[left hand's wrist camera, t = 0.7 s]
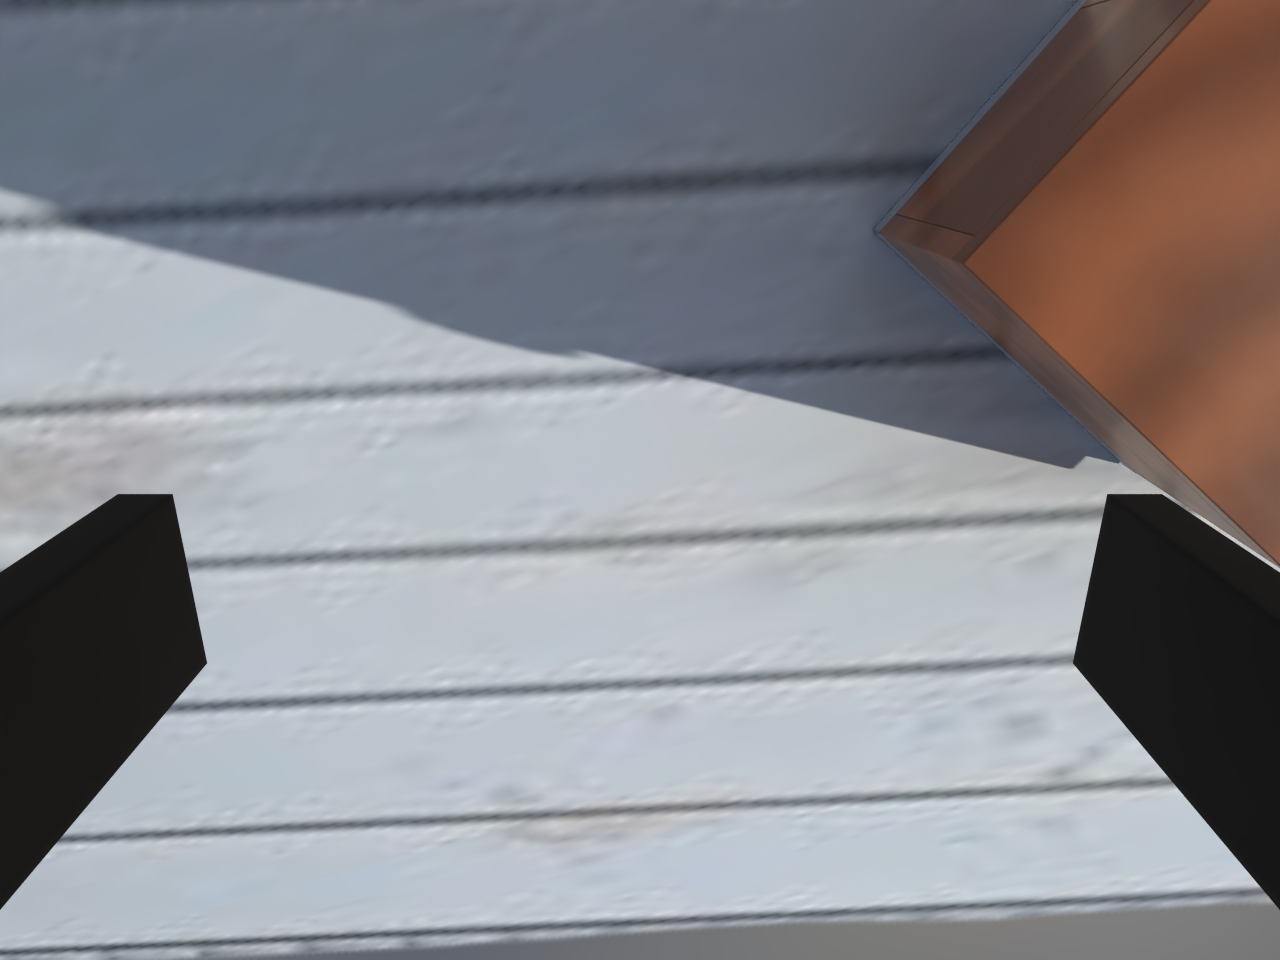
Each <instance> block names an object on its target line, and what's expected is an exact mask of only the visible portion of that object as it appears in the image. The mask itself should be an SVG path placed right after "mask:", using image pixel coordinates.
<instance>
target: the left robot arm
mask: <svg viewBox="0 0 1280 960" xmlns="http://www.w3.org/2000/svg"><path fill="white" fill-rule="evenodd" d="M206 664H207V660H206V656H205V651H204V646H203V641H202V636H201V631H200V626H199V621H198V616H197V611H196V607H195V602H194V597H193V592H192V587H191V582H190V577H189V572H188V567H187V562H186V557H185V553H184V548H183V543H182V538H181V533H180V528H179V523H178V518H177V513H176V508H175V504H174V499H173V494H118V495H116V496H115V497H113V498H112V499H110V500H109V501H107V502H106V503H104V504H103V505H101V506H100V507H98V508H97V509H95V510H94V511H92V512H91V513H89V514H88V515H86V516H85V517H83V518H82V519H80V520H79V521H77V522H76V523H74V524H73V525H71V526H70V527H68V528H67V529H65V530H63V531H62V532H60V533H59V534H57V535H56V536H54V537H53V538H51V539H50V540H48V541H47V542H45V543H44V544H42V545H41V546H39V547H38V548H36V549H35V550H33V551H32V552H30V553H29V554H27V555H26V556H24V557H23V558H21V559H20V560H18V561H17V562H15V563H14V564H12V565H11V566H9V567H8V568H6V569H5V570H3V571H2V572H0V909H1V908H2V907H3V906H4V905H5V903H6V902H7V901H8V900H9V899H10V897H11V896H12V895H13V894H14V893H15V892H16V890H17V889H18V888H19V887H20V886H21V884H22V883H23V882H24V881H25V880H26V878H27V877H28V876H29V875H30V874H31V872H32V871H33V870H34V869H35V868H36V866H37V865H38V864H39V863H40V862H41V861H42V859H43V858H44V857H45V856H46V855H47V853H48V852H49V851H50V850H51V849H52V847H53V846H54V845H55V844H56V843H57V841H58V840H59V839H60V838H61V837H62V836H63V834H64V833H65V832H66V831H67V830H68V828H69V827H70V826H71V825H72V824H73V822H74V821H75V820H76V819H77V818H78V816H79V815H80V814H81V813H82V812H83V810H84V809H85V808H86V807H87V806H88V805H89V803H90V802H91V801H92V800H93V799H94V797H95V796H96V795H97V794H98V793H99V791H100V790H101V789H102V788H103V787H104V785H105V784H106V783H107V782H108V781H109V779H110V778H111V777H112V776H113V775H114V774H115V772H116V771H117V770H118V769H119V768H120V766H121V765H122V764H123V763H124V762H125V760H126V759H127V758H128V757H129V756H130V754H131V753H132V752H133V751H134V750H135V749H136V747H137V746H138V745H139V744H140V743H141V741H142V740H143V739H144V738H145V737H146V735H147V734H148V733H149V732H150V731H151V729H152V728H153V727H154V726H155V725H156V723H157V722H158V721H159V720H160V719H161V718H162V716H163V715H164V714H165V713H166V712H167V710H168V709H169V708H170V707H171V706H172V704H173V703H174V702H175V701H176V700H177V698H178V697H179V696H180V695H181V694H182V692H183V691H184V690H185V689H186V688H187V687H188V685H189V684H190V683H191V682H192V681H193V679H194V678H195V677H196V676H197V675H198V673H199V672H200V671H201V670H202V669H203V667H204V666H205V665H206ZM1073 664H1074V665H1075V666H1076V667H1077V669H1078V670H1079V671H1080V672H1081V673H1082V675H1083V676H1084V677H1085V678H1086V679H1087V681H1088V682H1089V683H1090V684H1091V685H1092V687H1093V688H1094V689H1095V690H1096V691H1097V692H1098V694H1099V695H1100V696H1101V697H1102V698H1103V700H1104V701H1105V702H1106V703H1107V704H1108V706H1109V707H1110V708H1111V709H1112V710H1113V712H1114V713H1115V714H1116V715H1117V716H1118V718H1119V719H1120V720H1121V721H1122V722H1123V723H1124V725H1125V726H1126V727H1127V728H1128V729H1129V731H1130V732H1131V733H1132V734H1133V735H1134V737H1135V738H1136V739H1137V740H1138V741H1139V743H1140V744H1141V745H1142V746H1143V747H1144V749H1145V750H1146V751H1147V752H1148V753H1149V754H1150V756H1151V757H1152V758H1153V759H1154V760H1155V762H1156V763H1157V764H1158V765H1159V766H1160V768H1161V769H1162V770H1163V771H1164V772H1165V774H1166V775H1167V776H1168V777H1169V778H1170V779H1171V781H1172V782H1173V783H1174V784H1175V785H1176V787H1177V788H1178V789H1179V790H1180V791H1181V793H1182V794H1183V795H1184V796H1185V797H1186V799H1187V800H1188V801H1189V802H1190V803H1191V805H1192V806H1193V807H1194V808H1195V809H1196V810H1197V812H1198V813H1199V814H1200V815H1201V816H1202V818H1203V819H1204V820H1205V821H1206V822H1207V824H1208V825H1209V826H1210V827H1211V828H1212V830H1213V831H1214V832H1215V833H1216V834H1217V836H1218V837H1219V838H1220V839H1221V840H1222V841H1223V843H1224V844H1225V845H1226V846H1227V847H1228V849H1229V850H1230V851H1231V852H1232V853H1233V855H1234V856H1235V857H1236V858H1237V859H1238V861H1239V862H1240V863H1241V864H1242V865H1243V866H1244V868H1245V869H1246V870H1247V871H1248V872H1249V874H1250V875H1251V876H1252V877H1253V878H1254V880H1255V881H1256V882H1257V883H1258V884H1259V886H1260V887H1261V888H1262V889H1263V890H1264V892H1265V893H1266V894H1267V895H1268V896H1269V897H1270V899H1271V900H1272V901H1273V902H1274V903H1275V905H1276V906H1277V907H1278V908H1279V909H1280V572H1278V571H1277V570H1275V569H1274V568H1272V567H1271V566H1269V565H1268V564H1266V563H1265V562H1263V561H1262V560H1260V559H1259V558H1257V557H1256V556H1254V555H1253V554H1251V553H1250V552H1248V551H1247V550H1245V549H1244V548H1242V547H1241V546H1239V545H1238V544H1236V543H1235V542H1233V541H1232V540H1230V539H1229V538H1227V537H1226V536H1224V535H1223V534H1221V533H1220V532H1218V531H1217V530H1215V529H1213V528H1212V527H1210V526H1209V525H1207V524H1206V523H1204V522H1203V521H1201V520H1200V519H1198V518H1197V517H1195V516H1194V515H1192V514H1191V513H1189V512H1188V511H1186V510H1185V509H1183V508H1182V507H1180V506H1179V505H1177V504H1176V503H1174V502H1173V501H1171V500H1170V499H1168V498H1167V497H1165V496H1164V495H1162V494H1107V499H1106V504H1105V508H1104V513H1103V518H1102V523H1101V528H1100V533H1099V538H1098V543H1097V548H1096V553H1095V557H1094V562H1093V567H1092V572H1091V577H1090V582H1089V587H1088V592H1087V597H1086V602H1085V606H1084V611H1083V616H1082V621H1081V626H1080V631H1079V636H1078V641H1077V646H1076V651H1075V655H1074V660H1073Z"/></svg>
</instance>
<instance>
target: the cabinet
mask: <svg viewBox="0 0 1280 960" xmlns="http://www.w3.org/2000/svg"><path fill="white" fill-rule="evenodd" d="M872 231H873V232H874V233H875V234H876V235H878V236H879V237H880V238H881V239H882V240H883V241H884V242H885V243H886V244H887V245H888V246H889V247H890V248H891V249H893V250H894V251H895V252H896V253H897V254H898V255H899V256H900V257H901V258H902V259H903V260H904V261H905V262H906V263H908V264H909V265H910V266H911V267H912V268H913V269H914V270H915V271H916V272H917V273H918V274H919V275H920V276H921V277H923V278H924V279H925V280H926V281H927V282H928V283H929V284H930V285H931V286H932V287H933V288H934V289H935V290H936V291H938V292H939V293H940V294H941V295H942V296H943V297H944V298H945V299H946V300H947V301H948V302H949V303H950V304H952V305H953V306H954V307H955V308H956V309H957V310H958V311H959V312H960V313H961V314H962V315H963V316H964V317H965V318H967V319H968V320H969V321H970V322H971V323H972V324H973V325H974V326H975V327H976V328H977V329H978V330H979V331H980V332H982V333H983V334H984V335H985V336H986V337H987V338H988V339H989V340H990V341H991V342H992V343H993V344H994V345H995V346H997V347H998V348H999V349H1000V350H1001V351H1002V352H1003V353H1004V354H1005V355H1006V356H1007V357H1008V358H1009V359H1010V360H1012V361H1013V362H1014V363H1015V364H1016V365H1017V366H1018V367H1019V368H1020V369H1021V370H1022V371H1023V372H1024V373H1025V374H1027V375H1028V376H1029V377H1030V378H1031V379H1032V380H1033V381H1034V382H1035V383H1036V384H1037V385H1038V386H1039V387H1040V388H1042V389H1043V390H1044V391H1045V392H1046V393H1047V394H1048V395H1049V396H1050V397H1051V398H1052V399H1053V400H1054V401H1055V402H1057V403H1058V404H1059V405H1060V406H1061V407H1062V408H1063V409H1064V410H1065V411H1066V412H1067V413H1068V414H1069V415H1071V416H1072V417H1073V418H1074V419H1075V420H1076V421H1077V422H1078V423H1079V424H1080V425H1081V426H1082V427H1083V428H1084V429H1086V430H1087V431H1088V432H1089V433H1090V434H1091V435H1092V436H1093V437H1094V438H1095V439H1096V440H1097V441H1098V442H1099V443H1101V444H1102V445H1103V446H1104V447H1105V448H1106V449H1107V450H1108V451H1109V452H1110V453H1111V454H1112V455H1113V456H1114V457H1116V458H1117V459H1118V460H1119V461H1120V462H1121V463H1122V464H1123V465H1124V466H1126V467H1127V468H1129V469H1130V470H1132V471H1133V472H1135V473H1137V474H1139V475H1140V476H1142V477H1143V478H1145V479H1146V480H1148V481H1149V482H1151V483H1152V484H1154V485H1155V486H1157V487H1158V488H1160V489H1161V490H1163V491H1164V492H1166V493H1167V494H1169V495H1170V496H1172V497H1173V498H1175V499H1176V500H1178V501H1179V502H1181V503H1182V504H1184V505H1185V506H1187V507H1188V508H1190V509H1191V510H1193V511H1194V512H1196V513H1197V514H1199V515H1200V516H1202V517H1203V518H1205V519H1206V520H1208V521H1209V522H1211V523H1212V524H1214V525H1216V526H1217V527H1219V528H1220V529H1222V530H1223V531H1225V532H1226V533H1228V534H1229V535H1231V536H1232V537H1234V538H1235V539H1237V540H1238V541H1240V542H1241V543H1243V544H1244V545H1246V546H1247V547H1249V548H1250V549H1252V550H1253V551H1255V552H1256V553H1258V554H1259V555H1261V556H1262V557H1264V558H1265V559H1267V560H1268V561H1270V562H1271V563H1273V564H1274V565H1276V566H1278V567H1279V568H1280V0H1077V1H1076V3H1075V4H1074V5H1073V6H1072V7H1071V8H1070V9H1069V10H1068V12H1067V13H1066V14H1065V15H1064V16H1063V17H1062V18H1061V19H1060V20H1059V22H1058V23H1057V24H1056V25H1055V26H1054V27H1053V28H1052V29H1051V31H1050V32H1049V33H1048V34H1047V35H1046V36H1045V37H1044V38H1043V40H1042V41H1041V42H1040V43H1039V44H1038V45H1037V46H1036V47H1035V48H1034V50H1033V51H1032V52H1031V53H1030V54H1029V55H1028V56H1027V57H1026V59H1025V60H1024V61H1023V62H1022V63H1021V64H1020V65H1019V66H1018V68H1017V69H1016V70H1015V71H1014V72H1013V73H1012V74H1011V75H1010V77H1009V78H1008V79H1007V80H1006V81H1005V82H1004V83H1003V84H1002V85H1001V87H1000V88H999V89H998V90H997V91H996V92H995V93H994V94H993V96H992V97H991V98H990V99H989V100H988V101H987V102H986V103H985V105H984V106H983V107H982V108H981V109H980V110H979V111H978V112H977V113H976V115H975V116H974V117H973V118H972V119H971V120H970V121H969V122H968V124H967V125H966V126H965V127H964V128H963V129H962V130H961V131H960V133H959V134H958V135H957V136H956V137H955V138H954V139H953V140H952V141H951V143H950V144H949V145H948V146H947V147H946V148H945V149H944V150H943V152H942V153H941V154H940V155H939V156H938V157H937V158H936V159H935V161H934V162H933V163H932V164H931V165H930V166H929V167H928V168H927V170H926V171H925V172H924V173H923V174H922V175H921V176H920V177H919V178H918V180H917V181H916V182H915V183H914V184H913V185H912V186H911V187H910V189H909V190H908V191H907V192H906V193H905V194H904V195H903V196H902V198H901V199H900V200H899V201H898V202H897V203H896V204H895V205H894V206H893V208H892V209H891V210H890V211H889V212H888V213H887V214H886V215H885V217H884V218H883V219H882V220H881V221H880V222H879V223H878V224H877V226H876V227H875V228H874V229H873V230H872Z"/></svg>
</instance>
